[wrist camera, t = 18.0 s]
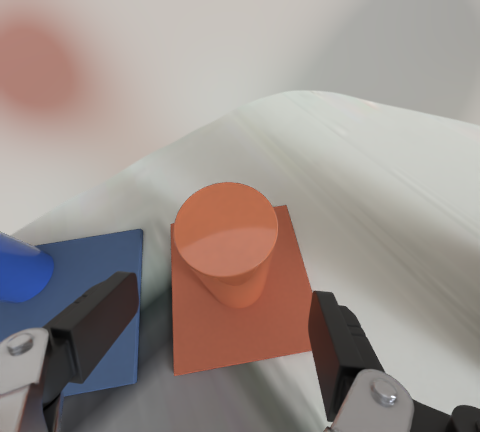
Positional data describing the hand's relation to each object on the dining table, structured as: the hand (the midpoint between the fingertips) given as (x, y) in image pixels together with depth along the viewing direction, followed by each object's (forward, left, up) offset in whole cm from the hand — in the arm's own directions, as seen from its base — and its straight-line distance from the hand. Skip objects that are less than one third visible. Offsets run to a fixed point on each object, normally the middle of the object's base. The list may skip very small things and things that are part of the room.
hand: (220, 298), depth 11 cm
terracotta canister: (-1, -3, -10) cm, 10 cm away
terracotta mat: (-1, -3, -11) cm, 11 cm away
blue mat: (+15, -3, -11) cm, 18 cm away
